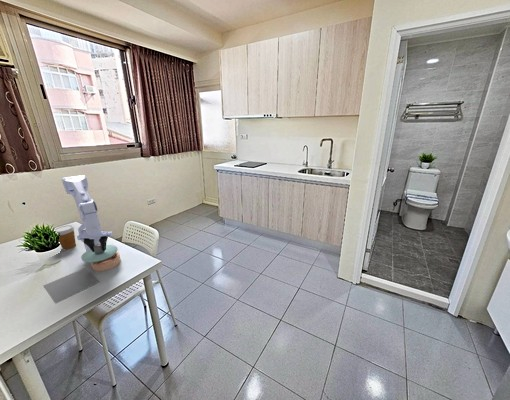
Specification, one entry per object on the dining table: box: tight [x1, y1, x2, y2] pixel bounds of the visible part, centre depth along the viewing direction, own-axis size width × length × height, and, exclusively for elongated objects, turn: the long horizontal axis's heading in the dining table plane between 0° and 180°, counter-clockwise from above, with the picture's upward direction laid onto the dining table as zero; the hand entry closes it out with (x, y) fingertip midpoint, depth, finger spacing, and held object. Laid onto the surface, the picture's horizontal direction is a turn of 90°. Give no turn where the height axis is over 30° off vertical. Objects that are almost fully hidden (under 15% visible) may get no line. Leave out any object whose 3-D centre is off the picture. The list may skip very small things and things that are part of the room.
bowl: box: [90, 251, 121, 272], centre depth 115 cm, size 12×12×4 cm
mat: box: [43, 267, 101, 304], centre depth 101 cm, size 18×16×1 cm
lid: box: [80, 243, 118, 263], centre depth 111 cm, size 15×15×5 cm
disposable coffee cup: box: [54, 224, 77, 250], centre depth 131 cm, size 10×10×12 cm
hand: (99, 250), depth 111 cm, fingers closed on lid, 4 cm apart
